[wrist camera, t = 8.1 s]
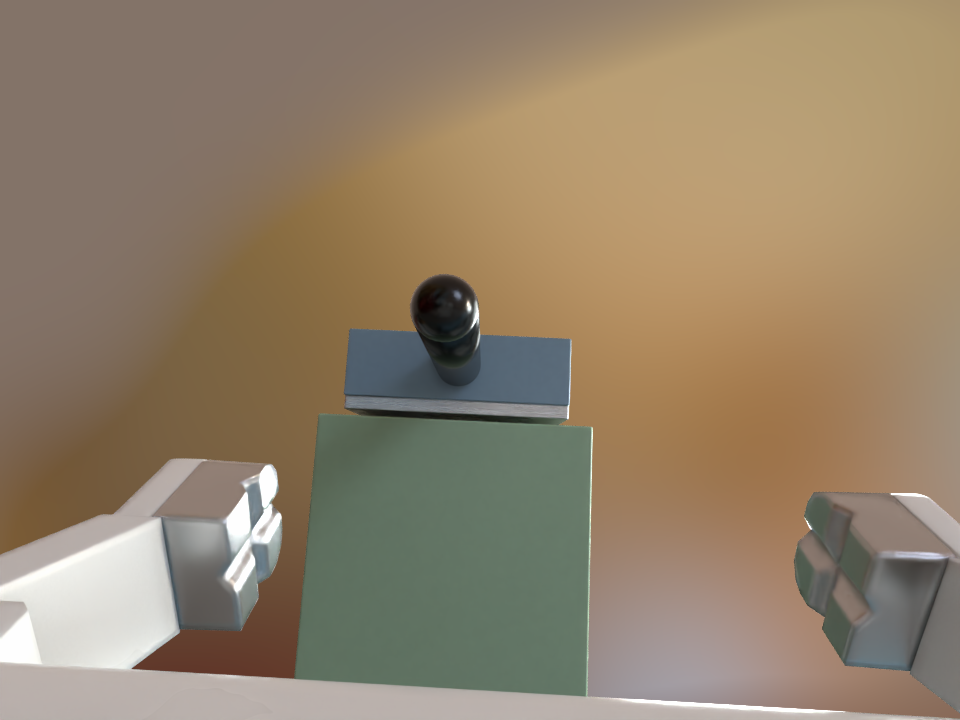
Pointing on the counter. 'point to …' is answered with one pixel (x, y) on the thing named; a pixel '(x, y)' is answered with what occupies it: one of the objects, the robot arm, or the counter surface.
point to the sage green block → (448, 555)
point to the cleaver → (456, 366)
